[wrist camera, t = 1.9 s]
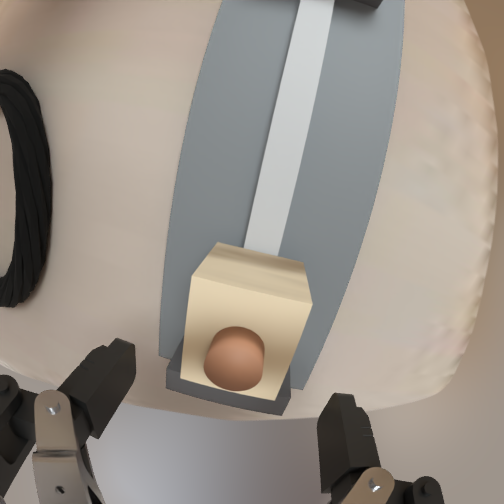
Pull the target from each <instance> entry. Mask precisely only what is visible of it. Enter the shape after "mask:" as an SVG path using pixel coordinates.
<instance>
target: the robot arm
mask: <svg viewBox="0 0 504 504" xmlns="http://www.w3.org/2000/svg"><path fill="white" fill-rule="evenodd" d="M135 375H136V358H135V345H134V344H132V343H129V342H127V341H124V340H122V339H119V338H116V339H115V340H114V341H113V342H112V343H111V344H110V345H109V346H108V347H106V346H104V345H102V346H100V347H98V348H96V349H94V350H92V351H91V352H90V353H89V354H88V355H87V357H86V358H85V360H83V361H82V362H81V363H80V365H79V366H78V367H77V368H76V369H75V370H74V371H73V372H72V373H71V374H70V376H69V377H68V378H67V379H66V380H65V381H64V382H63V384H62V385H61V386H60V387H59V388H58V389H57V390H46V391H43V392H41V393H40V394H36V393H33V392H29V391H26V390H23V389H20V388H19V386H18V383H17V382H16V380H15V379H14V378H13V377H11V376H9V375H0V504H6V503H5V501H4V499H3V498H4V496H5V494H6V492H7V491H8V489H9V487H10V485H11V483H12V481H13V480H14V478H15V476H16V474H17V473H18V471H19V469H20V467H21V466H22V464H23V462H24V461H25V459H26V457H27V456H28V454H29V452H30V451H31V449H32V447H33V446H34V444H35V443H36V445H37V451H36V452H33V455H32V462H33V469H34V476H35V482H36V488H37V493H38V498H39V502H40V504H105V502H104V499H103V496H102V494H101V492H100V489H99V487H98V485H97V482H96V479H95V476H94V472H93V469H92V465H91V461H90V458H89V454H88V449H87V445H86V440H87V439H88V437H89V436H92V437H94V438H96V439H99V438H100V436H101V434H102V433H103V431H104V429H105V428H106V426H107V424H108V423H109V421H110V419H111V418H112V416H113V414H114V413H115V411H116V410H117V408H118V406H119V405H120V403H121V402H122V400H123V398H124V397H125V395H126V394H127V392H128V390H129V389H130V387H131V386H132V384H133V382H134V379H135ZM317 436H318V448H319V462H320V477H321V493H331V498H332V499H331V500H330V501H329V502H328V503H327V504H444V500H443V495H442V492H441V487H440V485H439V483H438V482H437V481H436V480H435V479H434V478H432V477H429V476H424V477H421V478H419V479H417V480H416V481H415V482H414V483H412V482H405V481H400V480H395V479H394V478H393V476H392V475H391V473H390V472H388V471H387V470H386V469H383V468H381V465H380V460H379V456H378V453H377V448H376V444H375V440H374V437H373V432H372V429H371V424H370V421H369V417H368V415H367V414H366V413H365V411H364V410H363V409H362V407H356V403H355V399H354V396H353V395H352V394H342V393H334V394H333V395H332V396H331V398H330V400H329V401H328V403H327V405H326V406H325V408H324V410H323V411H322V413H321V414H320V416H319V419H318V423H317Z"/></svg>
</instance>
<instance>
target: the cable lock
mask: <svg viewBox="0 0 504 504" xmlns="http://www.w3.org/2000/svg"><path fill="white" fill-rule="evenodd" d="M0 105H1V108H2V110H3V113H4V115H5V118H6V122H7V125H8V129H9V134H10V138H11V142H12V151H13V168H14V180H15V189H16V217H15V242H14V248H13V256H12V261H11V263H10V266H9V268H8V271H7V273H6V275H5V276H4V277H1V278H0V307H12V308H14V307H15V306H16V305H17V304H18V303H22V302H24V301H25V300H26V299H27V298H28V297H29V295H30V292H31V291H33V290H34V288H35V285H36V283H37V281H38V277H39V273H40V271H41V269H42V266H43V264H44V262H45V252H46V241H47V233H48V229H49V224H50V212H51V205H50V176H49V167H50V165H49V149H48V145H47V141H46V136H45V132H44V127H43V122H42V118H41V112H40V106H39V101H38V99H37V97H36V96H35V94H34V92H33V90H32V89H31V87H30V85H29V83H28V82H27V81H25V80H24V79H23V77H22V76H20V75H19V74H17V73H15V72H13V71H12V70H7V69H4V70H0Z"/></svg>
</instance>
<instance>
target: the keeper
mask: <svg viewBox="0 0 504 504" xmlns="http://www.w3.org/2000/svg"><path fill="white" fill-rule="evenodd" d="M312 305H313V304H312V299H311V294H310V290H309V285H308V280H307V276H306V271H305V267H304V263H303V262H300V261H296V260H291V259H287V258H283V257H279V256H275V255H270V254H266V253H262V252H258V251H253V250H249V249H245V248H241V247H237V246H232V245H228V244H224V243H220V242H217V243H216V245H215V246H214V247H213V248H212V250H211V251H210V252H209V254H208V255H207V256H206V258H205V259H204V260H203V262H202V263H201V264H200V265H199V267H198V268H197V269H196V271H195V272H194V273H193V275H192V278H191V285H190V292H189V300H188V308H187V316H186V325H185V334H184V343H183V353H182V364H181V376H180V378H181V379H185V380H188V381H191V382H195V383H198V384H202V385H206V386H210V387H213V388H217V389H221V390H226V391H230V392H234V393H239V394H243V395H248V396H253V397H258V398H263V399H268V400H274V401H275V399H276V397H277V394H278V392H279V390H280V387H281V385H282V383H283V380H284V378H285V375H286V373H287V371H288V368H289V366H290V363H291V361H292V358H293V356H294V353H295V351H296V348H297V345H298V343H299V340H300V338H301V335H302V332H303V330H304V327H305V324H306V321H307V319H308V316H309V313H310V310H311V308H312Z"/></svg>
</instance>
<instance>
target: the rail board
mask: <svg viewBox="0 0 504 504" xmlns="http://www.w3.org/2000/svg"><path fill="white" fill-rule="evenodd" d="M404 5H405V0H223V1H222V4H221V7H220V9H219V12H218V15H217V18H216V21H215V24H214V27H213V30H212V33H211V36H210V39H209V43H208V46H207V49H206V52H205V56H204V59H203V63H202V66H201V70H200V73H199V77H198V81H197V85H196V89H195V92H194V96H193V100H192V105H191V109H190V113H189V117H188V122H187V126H186V131H185V136H184V140H183V145H182V150H181V155H180V161H179V166H178V172H177V177H176V183H175V189H174V195H173V202H172V208H171V215H170V222H169V230H168V238H167V246H166V255H165V265H164V275H163V286H162V299H161V314H160V333H159V356H161V357H164V358H167V359H171V361H170V363H169V365H168V367H167V370H166V388H167V389H170V390H173V391H176V392H179V393H183V394H186V395H189V396H193V397H196V398H200V399H204V400H207V401H211V402H215V403H219V404H223V405H228V406H232V407H237V408H241V409H246V410H251V411H256V412H262V413H267V414H273V415H280V416H282V414H283V412H284V410H285V408H286V406H287V404H288V402H289V400H290V398H291V388H293V389H300V390H303V388H304V386H305V384H306V382H307V380H308V378H309V376H310V374H311V372H312V370H313V368H314V365H315V363H316V361H317V359H318V357H319V355H320V352H321V350H322V348H323V345H324V343H325V341H326V339H327V336H328V334H329V331H330V329H331V327H332V324H333V322H334V319H335V317H336V314H337V312H338V309H339V307H340V304H341V302H342V299H343V296H344V294H345V291H346V288H347V286H348V283H349V280H350V277H351V274H352V272H353V269H354V266H355V263H356V260H357V257H358V254H359V251H360V248H361V245H362V242H363V238H364V235H365V232H366V229H367V225H368V222H369V219H370V215H371V212H372V208H373V205H374V201H375V197H376V193H377V190H378V186H379V182H380V178H381V174H382V169H383V165H384V161H385V156H386V152H387V147H388V142H389V137H390V132H391V127H392V122H393V116H394V110H395V104H396V97H397V91H398V83H399V76H400V67H401V57H402V46H403V32H404ZM217 242H220V243H224V244H228V245H232V246H237V247H241V248H245V249H249V250H253V251H258V252H262V253H266V254H270V255H275V256H279V257H283V258H287V259H291V260H296V261H300V262H303V263H304V267H305V271H306V276H307V280H308V285H309V290H310V294H311V299H312V304H313V305H312V308H311V310H310V313H309V316H308V319H307V321H306V324H305V327H304V330H303V332H302V335H301V338H300V340H299V343H298V345H297V348H296V351H295V353H294V356H293V358H292V361H291V363H290V366H289V368H288V371H287V373H286V375H285V378H284V380H283V383H282V385H281V387H280V390H279V392H278V394H277V397H276V399H275V401H274V400H268V399H263V398H258V397H253V396H248V395H243V394H239V393H234V392H230V391H226V390H221V389H217V388H213V387H210V386H206V385H202V384H198V383H195V382H191V381H188V380H185V379H181V378H180V376H181V364H182V353H183V343H184V334H185V325H186V316H187V308H188V300H189V292H190V285H191V278H192V275H193V273H194V272H195V271H196V269H197V268H198V267H199V265H200V264H201V263H202V262H203V260H204V259H205V258H206V256H207V255H208V254H209V252H210V251H211V250H212V248H213V247H214V246H215V245H216V243H217Z"/></svg>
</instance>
